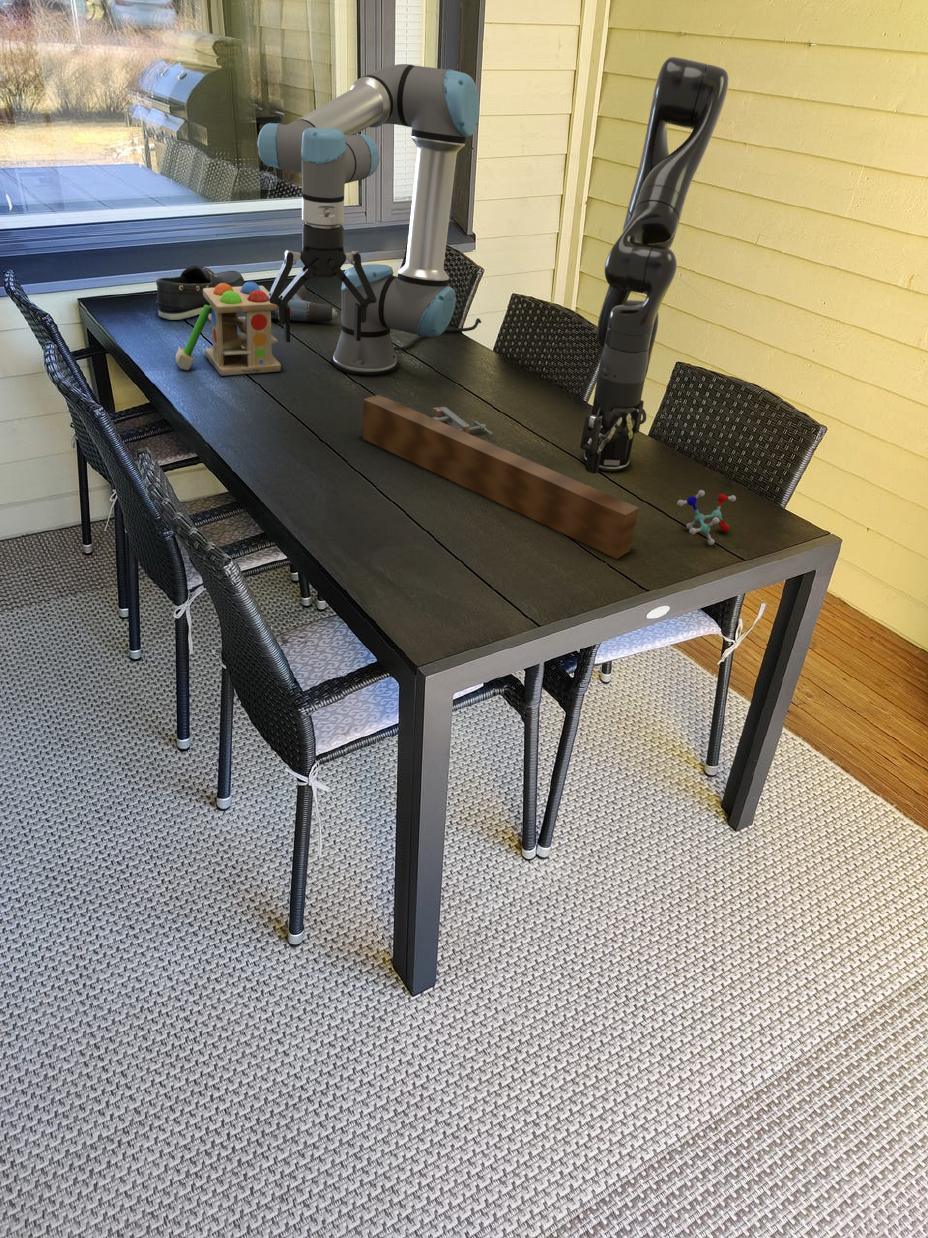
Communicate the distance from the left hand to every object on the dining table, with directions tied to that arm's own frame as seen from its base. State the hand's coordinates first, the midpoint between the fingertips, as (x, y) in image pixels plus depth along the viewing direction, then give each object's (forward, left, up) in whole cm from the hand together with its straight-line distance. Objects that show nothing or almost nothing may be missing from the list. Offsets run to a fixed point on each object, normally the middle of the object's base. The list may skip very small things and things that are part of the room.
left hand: (322, 339), depth 189 cm
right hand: (-15, +60, -6) cm, 63 cm away
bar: (-13, +35, -21) cm, 43 cm away
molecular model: (-34, +70, -21) cm, 81 cm away
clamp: (-27, +11, -21) cm, 36 cm away
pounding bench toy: (-5, -46, -21) cm, 51 cm away
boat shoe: (-24, -88, -21) cm, 93 cm away
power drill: (-45, -69, -21) cm, 85 cm away
